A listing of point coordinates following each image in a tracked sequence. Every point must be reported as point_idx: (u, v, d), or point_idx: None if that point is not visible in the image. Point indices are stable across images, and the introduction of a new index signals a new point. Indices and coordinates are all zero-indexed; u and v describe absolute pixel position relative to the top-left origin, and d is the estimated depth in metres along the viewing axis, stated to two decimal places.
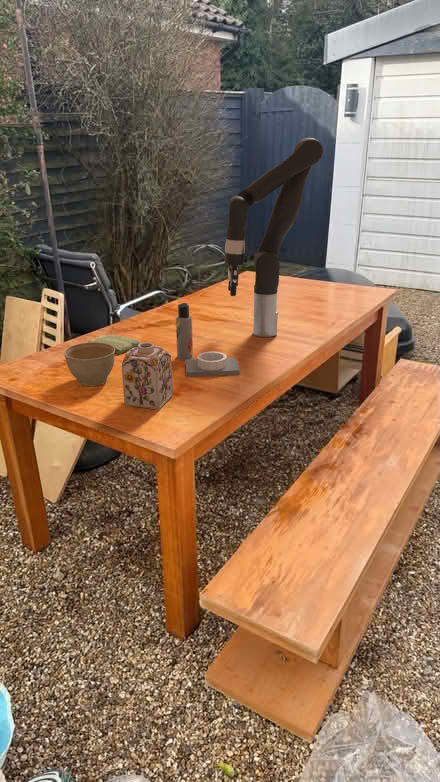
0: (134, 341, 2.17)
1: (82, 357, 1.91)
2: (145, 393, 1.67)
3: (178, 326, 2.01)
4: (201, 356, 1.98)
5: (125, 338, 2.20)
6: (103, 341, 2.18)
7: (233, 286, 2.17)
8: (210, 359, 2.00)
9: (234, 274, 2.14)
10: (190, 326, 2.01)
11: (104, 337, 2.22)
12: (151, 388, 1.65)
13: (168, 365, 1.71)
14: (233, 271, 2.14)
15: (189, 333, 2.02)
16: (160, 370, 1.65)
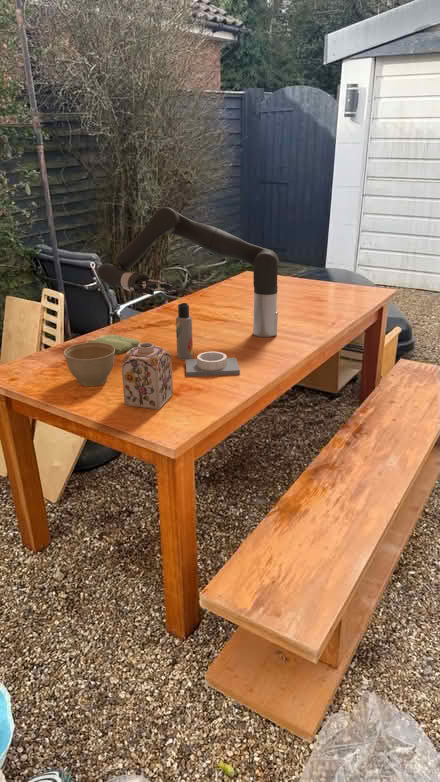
0: (134, 341, 2.17)
1: (82, 357, 1.91)
2: (145, 393, 1.67)
3: (178, 326, 2.01)
4: (201, 356, 1.98)
5: (125, 338, 2.20)
6: (103, 341, 2.18)
7: (143, 291, 2.05)
8: (210, 359, 2.00)
9: (132, 289, 2.07)
10: (190, 326, 2.01)
11: (104, 337, 2.23)
12: (151, 388, 1.65)
13: (168, 365, 1.71)
14: (130, 290, 2.08)
15: (189, 333, 2.02)
16: (160, 370, 1.65)
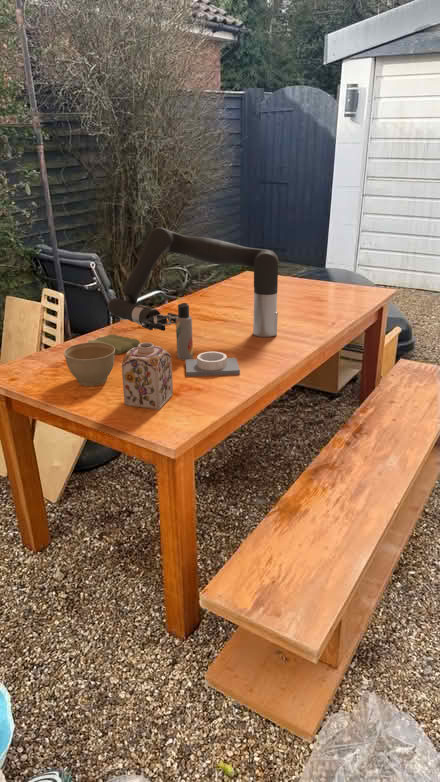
0: (134, 341, 2.17)
1: (82, 357, 1.91)
2: (145, 393, 1.67)
3: (178, 326, 2.01)
4: (201, 356, 1.98)
5: (125, 338, 2.20)
6: (103, 341, 2.18)
7: (154, 327, 2.06)
8: (210, 359, 2.00)
9: (143, 325, 2.09)
10: (190, 326, 2.01)
11: (105, 337, 2.23)
12: (151, 388, 1.65)
13: (168, 365, 1.71)
14: (142, 325, 2.10)
15: (189, 333, 2.02)
16: (160, 370, 1.65)
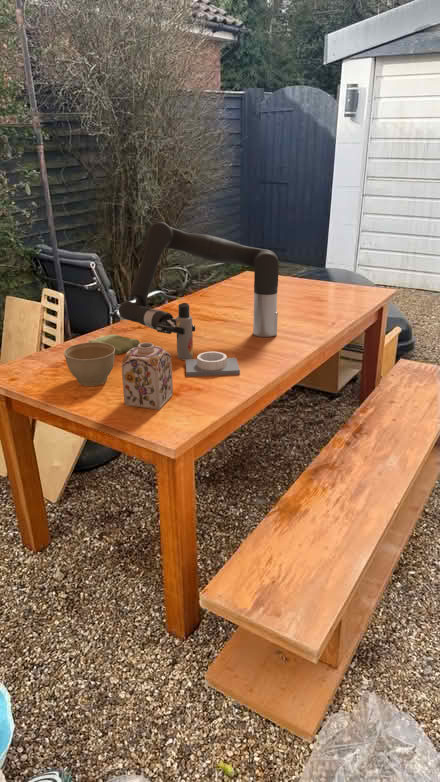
0: (134, 341, 2.17)
1: (82, 357, 1.91)
2: (145, 393, 1.67)
3: (178, 326, 2.01)
4: (201, 356, 1.98)
5: (126, 338, 2.20)
6: (103, 341, 2.18)
7: (173, 330, 2.02)
8: (210, 359, 2.00)
9: (160, 329, 2.03)
10: (190, 326, 2.01)
11: (105, 337, 2.23)
12: (151, 388, 1.65)
13: (168, 365, 1.71)
14: (157, 330, 2.04)
15: (189, 333, 2.02)
16: (160, 370, 1.65)
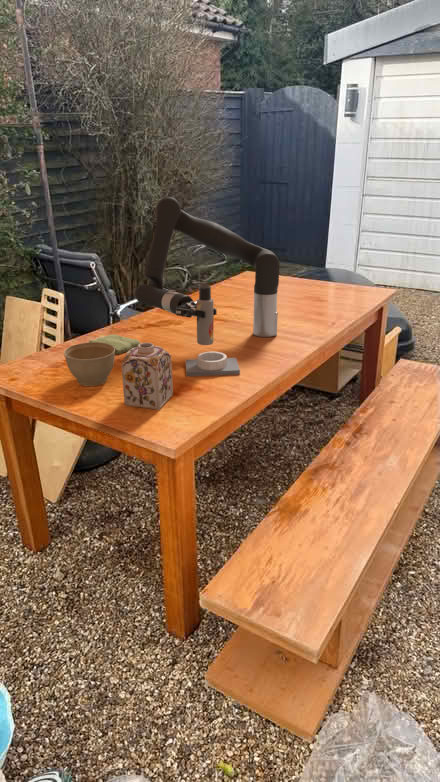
0: (134, 342, 2.17)
1: (82, 357, 1.91)
2: (145, 393, 1.67)
3: (199, 309, 1.89)
4: (201, 356, 1.98)
5: (126, 338, 2.20)
6: (104, 341, 2.18)
7: (194, 314, 1.90)
8: (210, 359, 2.00)
9: (179, 313, 1.92)
10: (211, 309, 1.90)
11: (105, 337, 2.23)
12: (151, 388, 1.65)
13: (168, 365, 1.71)
14: (176, 313, 1.92)
15: (210, 317, 1.91)
16: (160, 370, 1.65)
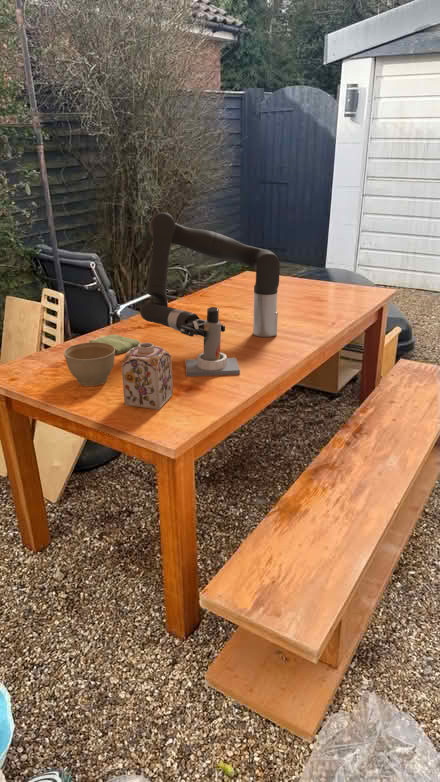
0: (134, 342, 2.16)
1: (82, 357, 1.91)
2: (145, 393, 1.67)
3: None
4: (201, 356, 1.98)
5: (126, 338, 2.20)
6: (104, 341, 2.18)
7: (196, 333, 1.90)
8: None
9: (183, 331, 1.92)
10: (219, 332, 1.91)
11: (106, 337, 2.23)
12: (151, 388, 1.65)
13: (168, 365, 1.71)
14: (181, 331, 1.93)
15: (218, 339, 1.91)
16: (160, 370, 1.65)
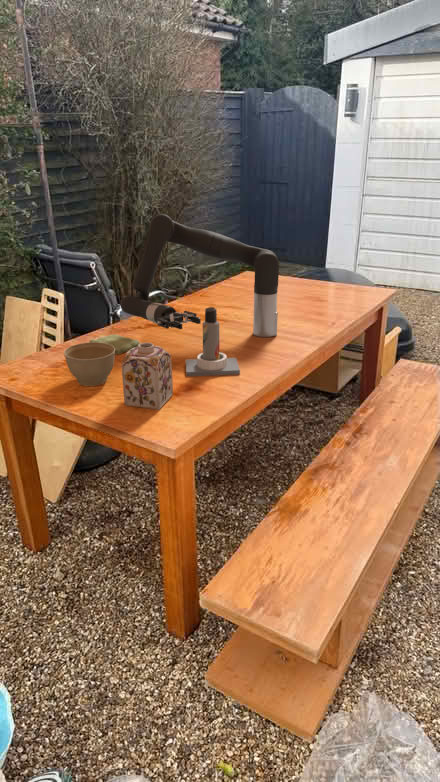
0: (134, 342, 2.16)
1: (82, 357, 1.91)
2: (145, 393, 1.67)
3: (205, 331, 1.90)
4: (201, 356, 1.98)
5: (126, 338, 2.20)
6: (104, 341, 2.18)
7: (171, 325, 1.98)
8: None
9: (159, 323, 2.00)
10: (218, 331, 1.91)
11: (106, 337, 2.23)
12: (151, 388, 1.65)
13: (168, 365, 1.71)
14: (157, 323, 2.01)
15: (216, 339, 1.91)
16: (160, 370, 1.65)
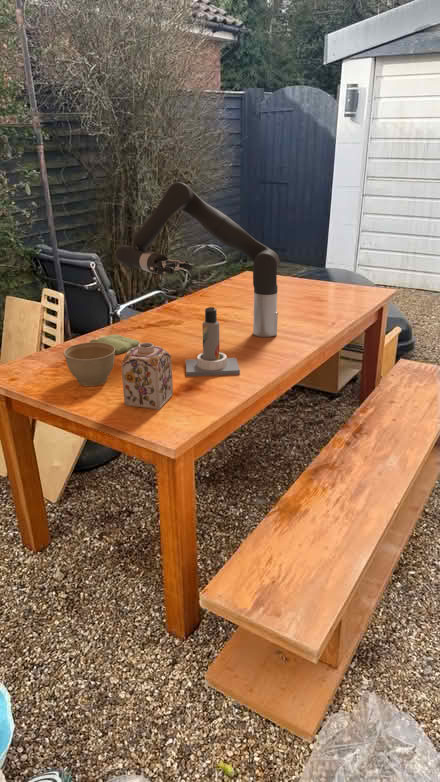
0: (134, 342, 2.16)
1: (82, 357, 1.91)
2: (145, 393, 1.67)
3: (205, 331, 1.90)
4: (201, 356, 1.98)
5: (127, 339, 2.20)
6: (104, 341, 2.18)
7: (163, 270, 2.04)
8: None
9: (152, 269, 2.07)
10: (218, 331, 1.91)
11: (107, 337, 2.23)
12: (151, 388, 1.65)
13: (168, 365, 1.71)
14: (150, 270, 2.08)
15: (216, 339, 1.91)
16: (160, 370, 1.65)
